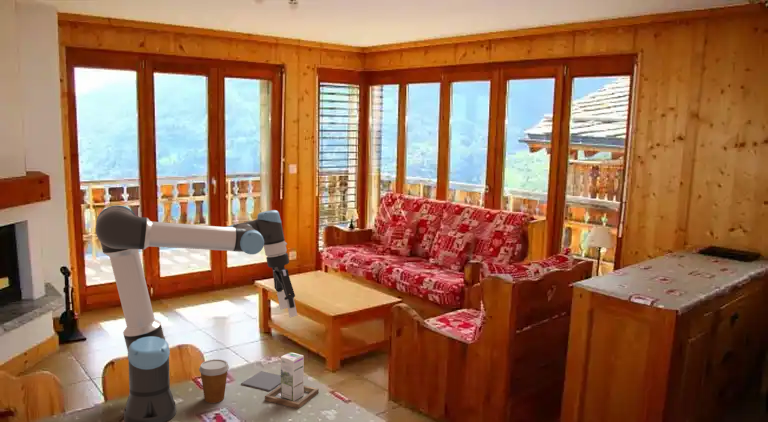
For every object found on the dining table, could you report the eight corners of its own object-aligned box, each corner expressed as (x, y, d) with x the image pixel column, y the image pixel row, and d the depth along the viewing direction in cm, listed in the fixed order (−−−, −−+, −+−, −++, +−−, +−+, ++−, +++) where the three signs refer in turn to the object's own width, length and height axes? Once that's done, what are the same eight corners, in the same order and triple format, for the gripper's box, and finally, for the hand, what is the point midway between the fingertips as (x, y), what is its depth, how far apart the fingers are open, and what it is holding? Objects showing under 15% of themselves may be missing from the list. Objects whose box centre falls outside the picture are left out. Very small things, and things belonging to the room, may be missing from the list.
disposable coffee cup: (220, 406, 191) (220, 371, 189) (194, 403, 193) (193, 368, 191) (234, 394, 200) (234, 360, 199) (208, 391, 202) (207, 357, 200)
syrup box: (304, 395, 201) (304, 354, 199) (292, 402, 196) (293, 360, 194) (291, 391, 204) (291, 351, 202) (279, 397, 199) (280, 356, 197)
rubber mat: (241, 384, 208) (241, 383, 208) (261, 372, 219) (261, 371, 219) (269, 391, 203) (269, 389, 203) (288, 378, 214) (288, 377, 214)
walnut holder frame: (264, 400, 196) (264, 396, 196) (286, 385, 208) (286, 381, 208) (298, 408, 191) (298, 404, 191) (318, 393, 203) (318, 388, 203)
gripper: (296, 255, 196) (308, 316, 199) (279, 248, 219) (290, 303, 222) (274, 261, 194) (286, 323, 196) (259, 253, 217) (270, 308, 219)
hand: (288, 312), depth 209 cm, fingers open, 13 cm apart
